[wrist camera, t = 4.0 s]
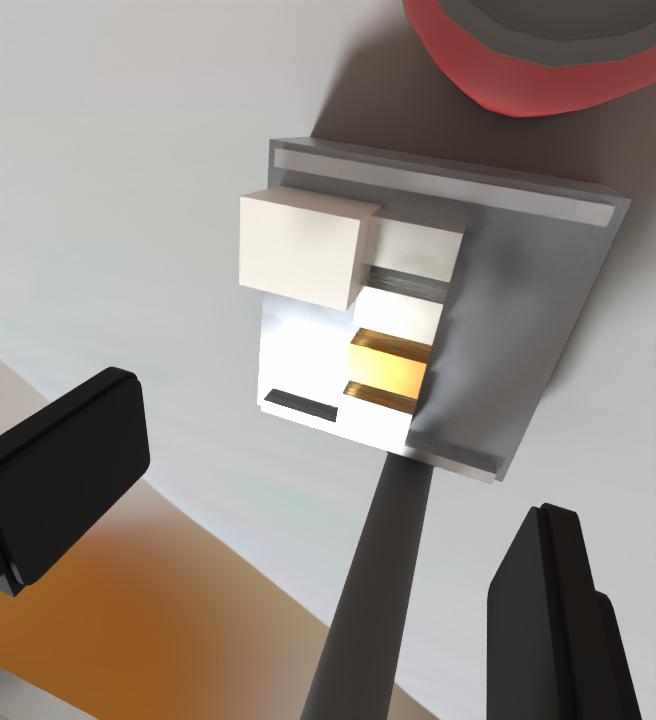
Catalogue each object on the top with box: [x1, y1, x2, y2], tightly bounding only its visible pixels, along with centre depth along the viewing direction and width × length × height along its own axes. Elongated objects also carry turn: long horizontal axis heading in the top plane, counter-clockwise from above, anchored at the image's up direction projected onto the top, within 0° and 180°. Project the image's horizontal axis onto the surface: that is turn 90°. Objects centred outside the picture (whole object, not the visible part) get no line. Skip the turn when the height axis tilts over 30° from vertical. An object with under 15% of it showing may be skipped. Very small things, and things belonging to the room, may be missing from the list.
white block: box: [239, 185, 382, 311], centre depth 15 cm, size 4×3×3 cm
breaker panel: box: [258, 137, 632, 484], centre depth 18 cm, size 12×12×6 cm
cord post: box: [300, 450, 436, 720], centre depth 16 cm, size 4×4×20 cm
